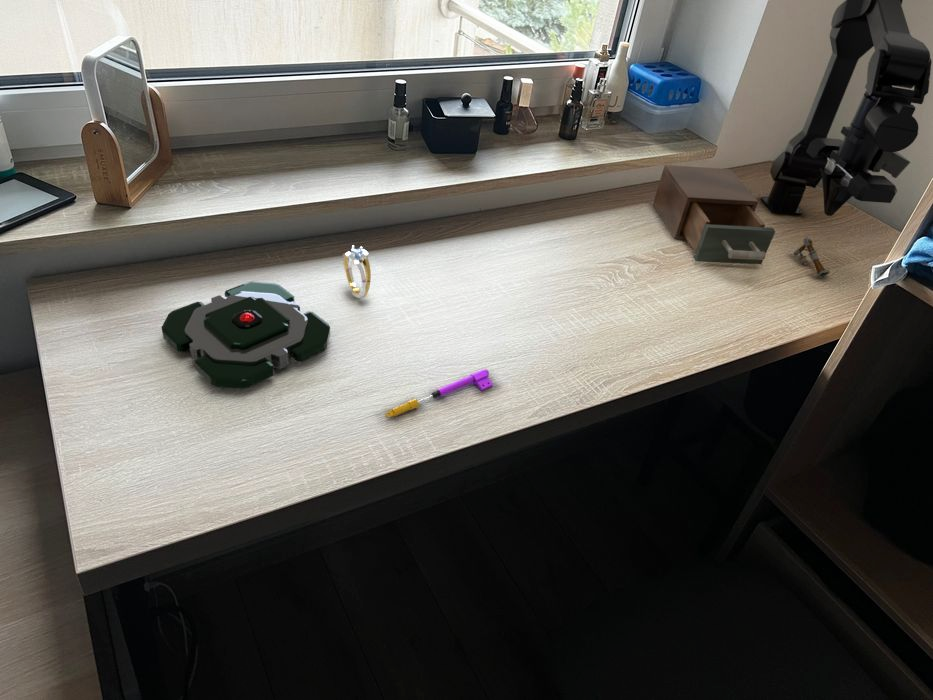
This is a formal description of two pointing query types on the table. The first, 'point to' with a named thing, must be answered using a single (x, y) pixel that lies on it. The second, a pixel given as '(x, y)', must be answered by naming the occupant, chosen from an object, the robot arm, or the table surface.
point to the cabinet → (696, 192)
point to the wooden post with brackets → (814, 258)
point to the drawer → (726, 233)
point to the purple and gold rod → (447, 391)
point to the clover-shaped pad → (246, 334)
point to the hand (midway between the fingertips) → (828, 214)
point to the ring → (358, 258)
